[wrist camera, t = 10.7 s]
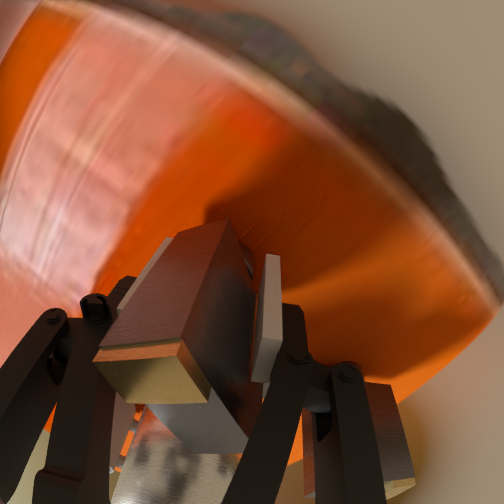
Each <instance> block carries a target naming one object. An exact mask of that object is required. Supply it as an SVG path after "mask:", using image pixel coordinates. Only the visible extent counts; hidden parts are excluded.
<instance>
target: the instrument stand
mask: <svg viewBox="0 0 504 504" xmlns="http://www.w3.org/2000/svg"><path fill="white" fill-rule="evenodd" d="M269 385H270V380H269V383H263V397H262V398H265V396H266V393H267V390H268V388H269ZM240 459H241V453H237V454H197V453H193V452H192V451H191V450H190V449H188V448H187V447H186V446H185V445H184V444H183V443H182V442H181V441H180V440H179V439H178V438H177V437H176V436H175V435H174V434H173V433H172V432H171V431H170V430H169V429H168V428H167V427H166V426H165V425H164V424H163V423H162V422H161V421H160V420H159V419H158V418H157V417H156V416H155V415H154V414H153V412H152V411H151V410H150V409H149V408H148V407H147V406H146V405H145V407H144V410H143V412H142V415H141V418H140V420H139V423H138V426H137V428H136V431H135V434H134V437H133V439H132V442H131V445H130V448H129V450H128V453H127V456H126V459H125V462H124V465H123V468H122V470H121V473H120V477H119V479H118V482H117V485H116V488H115V491H114V494H113V497H112V500H111V504H221V502H222V500H223V498H224V496H225V493H226V491H227V489H228V487H229V484H230V482H231V480H232V478H233V475H234V473H235V471H236V468H237V466H238V464H239V461H240Z"/></svg>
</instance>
